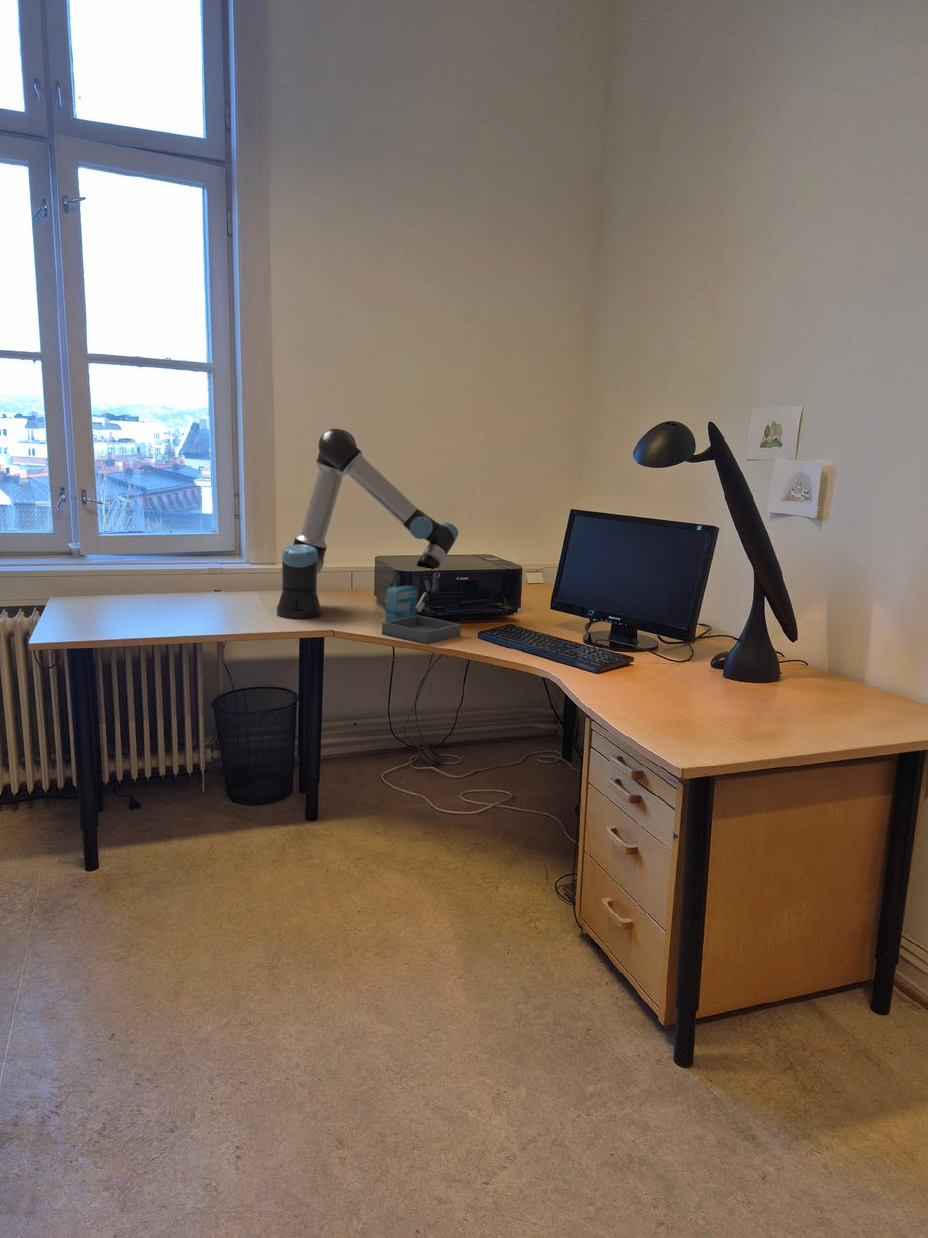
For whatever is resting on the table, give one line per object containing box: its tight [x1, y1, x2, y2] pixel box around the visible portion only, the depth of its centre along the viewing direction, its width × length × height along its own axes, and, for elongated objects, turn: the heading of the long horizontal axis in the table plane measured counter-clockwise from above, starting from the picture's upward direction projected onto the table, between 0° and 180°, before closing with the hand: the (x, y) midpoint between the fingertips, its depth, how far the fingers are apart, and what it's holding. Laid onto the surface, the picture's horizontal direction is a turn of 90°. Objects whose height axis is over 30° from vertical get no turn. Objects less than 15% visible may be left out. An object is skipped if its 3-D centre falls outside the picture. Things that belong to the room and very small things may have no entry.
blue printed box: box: [384, 585, 419, 622], centre depth 260 cm, size 12×4×12 cm, turn 147°
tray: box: [381, 614, 462, 646], centre depth 244 cm, size 18×18×4 cm
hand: (402, 606), depth 261 cm, fingers open, 13 cm apart
